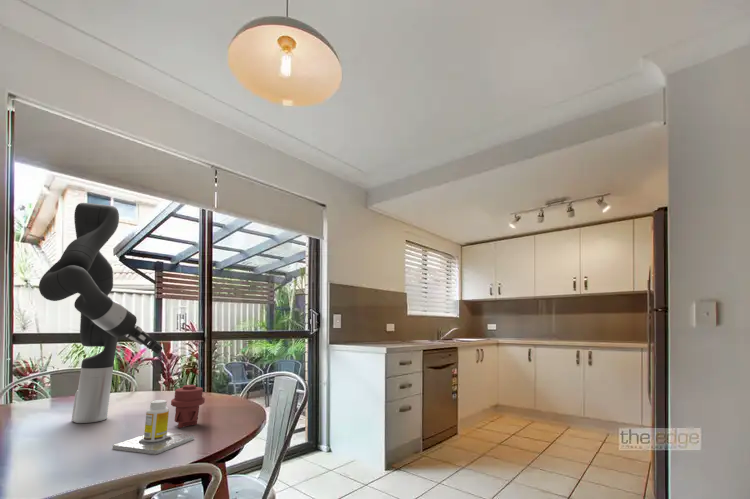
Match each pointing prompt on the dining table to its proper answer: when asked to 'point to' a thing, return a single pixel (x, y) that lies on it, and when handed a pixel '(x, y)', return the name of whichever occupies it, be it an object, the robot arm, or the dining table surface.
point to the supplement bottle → (156, 421)
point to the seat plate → (153, 444)
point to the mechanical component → (187, 404)
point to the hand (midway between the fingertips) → (152, 346)
